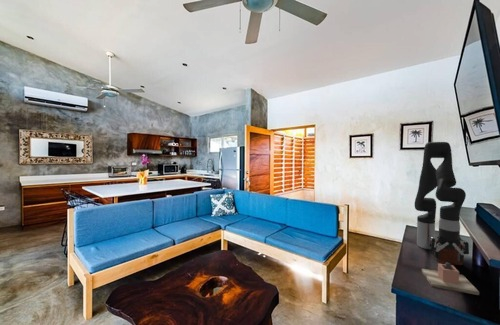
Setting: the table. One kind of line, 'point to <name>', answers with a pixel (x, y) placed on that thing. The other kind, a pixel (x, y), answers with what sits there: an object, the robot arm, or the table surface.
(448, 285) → the peg board
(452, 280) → the bead
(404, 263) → the table surface
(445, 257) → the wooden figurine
